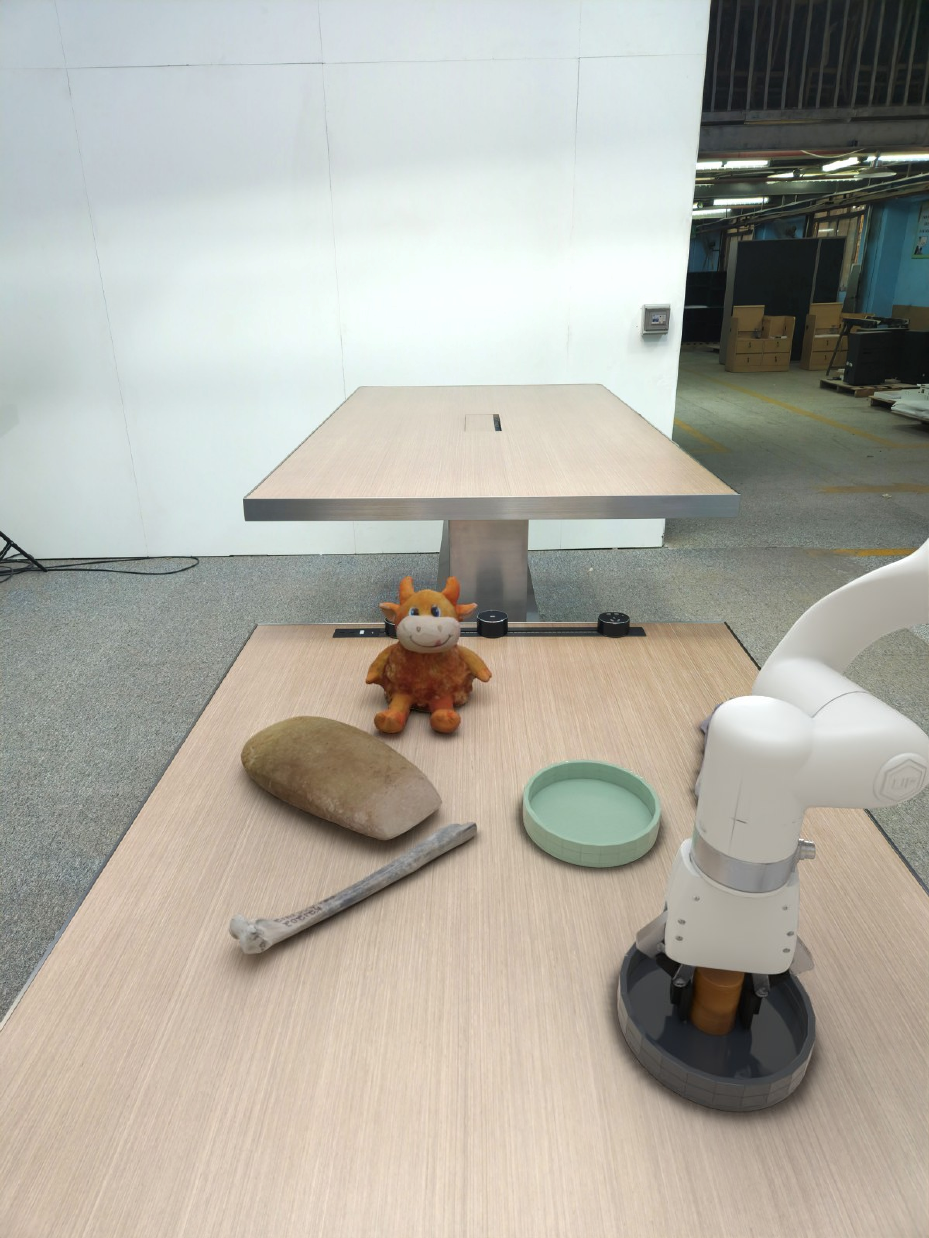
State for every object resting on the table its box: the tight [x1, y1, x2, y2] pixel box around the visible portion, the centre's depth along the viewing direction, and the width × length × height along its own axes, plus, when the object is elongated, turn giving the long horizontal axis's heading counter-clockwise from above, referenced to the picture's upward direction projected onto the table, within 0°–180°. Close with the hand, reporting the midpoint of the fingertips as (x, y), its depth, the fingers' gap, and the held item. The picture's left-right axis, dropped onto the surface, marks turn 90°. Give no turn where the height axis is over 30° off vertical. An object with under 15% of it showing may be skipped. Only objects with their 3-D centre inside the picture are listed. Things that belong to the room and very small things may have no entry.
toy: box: [365, 575, 493, 734], centre depth 116 cm, size 19×22×25 cm
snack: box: [689, 966, 745, 1036], centre depth 65 cm, size 4×4×6 cm
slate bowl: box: [616, 939, 817, 1113], centre depth 66 cm, size 16×16×3 cm
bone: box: [228, 821, 478, 955], centre depth 80 cm, size 29×4×5 cm, turn 129°
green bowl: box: [522, 758, 662, 868], centre depth 90 cm, size 16×16×3 cm
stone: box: [240, 715, 443, 841], centre depth 96 cm, size 30×15×6 cm, turn 51°
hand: (711, 1008), depth 66 cm, fingers open, 4 cm apart
